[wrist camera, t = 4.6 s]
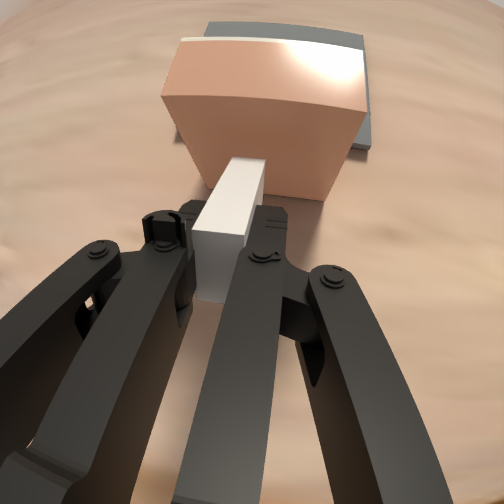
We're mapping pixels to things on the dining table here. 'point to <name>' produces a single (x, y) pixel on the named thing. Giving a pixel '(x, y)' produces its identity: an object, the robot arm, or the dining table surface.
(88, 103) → the dining table surface
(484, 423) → the dining table surface
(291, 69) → the terracotta block
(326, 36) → the slate mat
